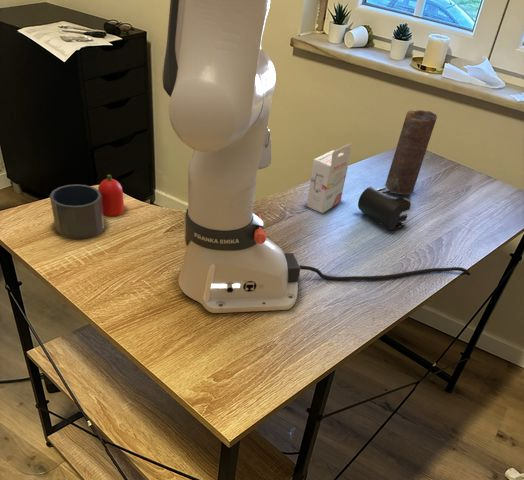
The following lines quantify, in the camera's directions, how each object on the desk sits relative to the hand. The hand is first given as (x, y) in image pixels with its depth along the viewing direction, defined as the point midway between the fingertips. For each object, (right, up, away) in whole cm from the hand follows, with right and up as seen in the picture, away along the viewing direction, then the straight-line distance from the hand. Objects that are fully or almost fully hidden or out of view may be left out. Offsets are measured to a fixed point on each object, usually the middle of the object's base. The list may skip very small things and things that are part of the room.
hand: (233, 173), depth 120 cm
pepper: (-26, -9, -4) cm, 28 cm away
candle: (+42, +1, +19) cm, 46 cm away
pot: (-31, -14, -10) cm, 36 cm away
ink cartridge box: (+21, -5, +9) cm, 23 cm away
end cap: (+34, -10, +5) cm, 36 cm away
